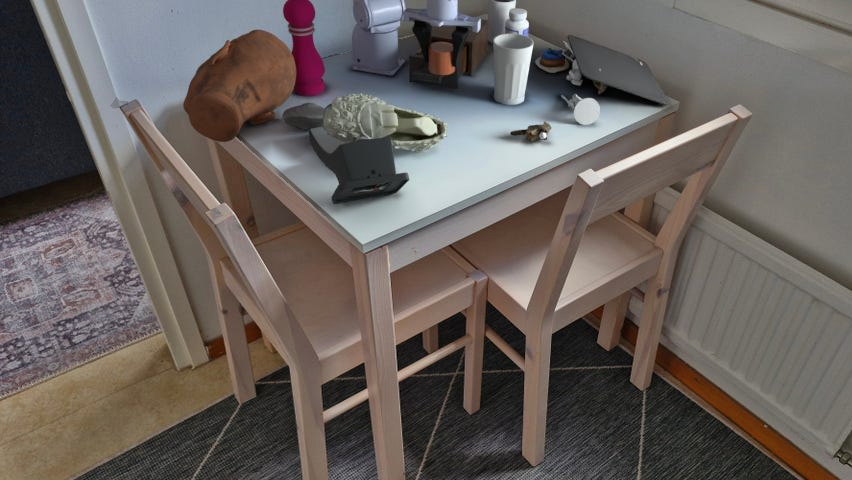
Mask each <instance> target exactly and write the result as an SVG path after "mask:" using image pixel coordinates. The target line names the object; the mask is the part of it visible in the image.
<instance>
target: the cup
mask: <svg viewBox="0 0 852 480" xmlns="http://www.w3.org/2000/svg"><path fill="white" fill-rule="evenodd" d="M534 43H535V42H534V39H532V38H531V37H529V36H528V37H527V36H525V35H521V34H511V33H510V34H501V35H498V36H496V37H495V38H494V39H493V43H492V51H493V82H494V83H493V84H494V85H493V86H494V92H493V98H494V100H495V101H496V102H497V103H499V104H503V105H506V106H507V105H508V106H513V105H520V104H522V103H523V102H524V101H525V95H526V89H527V83H528V78H529V77H528V76H529V71H530V65H531V59H532V54H533V48H534Z"/></svg>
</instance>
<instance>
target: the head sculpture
mask: <svg viewBox="0 0 852 480" xmlns="http://www.w3.org/2000/svg"><path fill="white" fill-rule="evenodd" d="M295 81H296V66H295V61H294V58H293V55H292V50H291V49H290V48H289V47H288V46H287V44H286V43H285V42H284V41H283V40H282V39H280V38H279V37H278V36H276V35H275V34H273V33H272V32H269V31H266V30H265V29H264V30H263V29H253V30H250V31H249V32H247V33H244V34H241V35H240V36H238V37H236V38H233V39H232V40H230V39H227V40H226V41H225V43H224V44H223V46H222V47H221V48H219V50H217V51H216V52H215V53H213V54H210V57H209V58H208V59H206V60H205V61H204V62H203V63H201V64H200V65H199V66H198V67H197V70H196V71H195V74H194V75H193V77H192V79H191V80H190V83H189V85H188V88H187V93H186V96H185V98H184V100H183V104H182V106H183V110H184V112H186V114H187V115H188V120H189V123H190V126H191V127H193V130H195V131H196V132H197V133H199V134H200V135H202V136H204V137H205V138H207V139H210V140H212V141H214V142H215V141H216V142H220V143H227V142H230V141H232V140H234V139H235V138H237V136H238V135H239V133H240V131H241V128H242V126H243V125H244V123H246V122H247V121H248V122H249V123H250V124H251V125H259V124H264V123H266V122H268V121H271V120H272V119H273V120H274V118H275V117H276V112H275V110H276V109H278V108H279V107H281V106H282V105H283V104H284V103H286V101H288V99H289V98H290V97H291V95H292V93H293V91H294V85H295Z"/></svg>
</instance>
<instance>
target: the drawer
mask: <svg viewBox="0 0 852 480" xmlns="http://www.w3.org/2000/svg"><path fill="white" fill-rule="evenodd" d="M435 42H443V41H436V40H431V44H432V43H435ZM448 43H450V42H448ZM451 44H453V43H451ZM468 57H469V45H464V46H463V49H462V52H461V56H460V60H459V64H458V65H457V67H455V71H454V72H453V73H452V74H449V75H436V74H433V73H431V72H430V71H429V70H428V63H427V62H424V57H423V53H422V50H421V47H420V46H419V48H418V49H417V50H416V52H415V53H410V54H409V55H408V75H409V76H408V80H409V81H408V82H409V83H413V84H419V85H425V86H431V87H436V88H442V89H449V90H454V91H455V90H458V89H459V81H460V79H461V78H462V76H464V75H463V73H464V72H465V70H466V69H467V67H468Z"/></svg>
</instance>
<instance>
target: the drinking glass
mask: <svg viewBox="0 0 852 480" xmlns="http://www.w3.org/2000/svg"><path fill="white" fill-rule="evenodd" d="M516 5H517V0H487V20H489V22H488V42H489V43H491V44H493V39H494V38H495V37H496V36H498V35H501V34H505V23H506V21H507V20H508V19H509V11H510V9H513V8H516Z"/></svg>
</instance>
